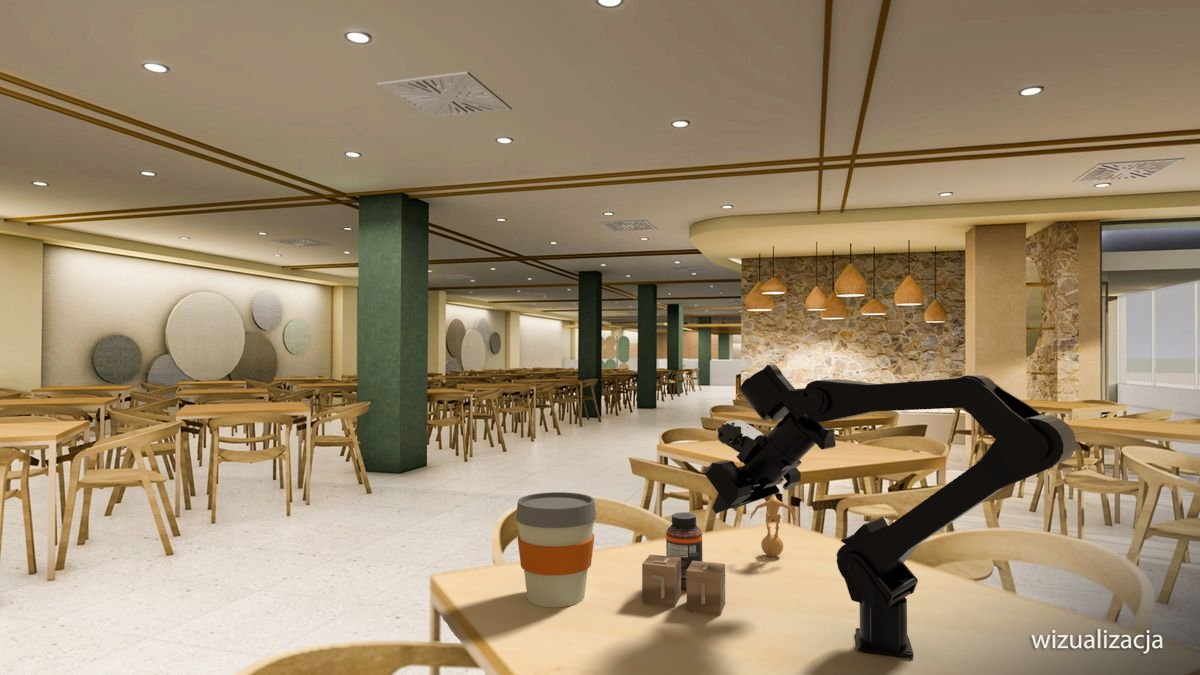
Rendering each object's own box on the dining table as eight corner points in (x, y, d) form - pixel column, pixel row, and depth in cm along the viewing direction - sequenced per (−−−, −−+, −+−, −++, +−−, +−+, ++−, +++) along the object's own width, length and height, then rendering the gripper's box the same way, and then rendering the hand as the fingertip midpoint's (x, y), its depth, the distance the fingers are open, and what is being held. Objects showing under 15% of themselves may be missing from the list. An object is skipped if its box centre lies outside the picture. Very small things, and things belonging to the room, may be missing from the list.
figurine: (793, 553, 126) (793, 490, 127) (798, 563, 120) (798, 497, 121) (748, 552, 128) (748, 489, 128) (751, 561, 122) (751, 495, 122)
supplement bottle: (679, 575, 114) (678, 508, 114) (709, 582, 110) (709, 514, 111) (659, 584, 110) (659, 515, 110) (690, 592, 106) (690, 521, 106)
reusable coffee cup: (606, 607, 100) (606, 506, 100) (522, 616, 96) (523, 511, 97) (584, 579, 112) (584, 489, 112) (509, 587, 108) (510, 494, 109)
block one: (720, 616, 96) (720, 573, 97) (686, 612, 98) (686, 569, 98) (725, 603, 101) (725, 562, 102) (692, 599, 103) (692, 559, 103)
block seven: (674, 608, 100) (674, 566, 100) (641, 604, 101) (641, 563, 101) (681, 596, 105) (681, 556, 105) (650, 592, 106) (650, 553, 106)
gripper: (782, 400, 108) (726, 461, 116) (715, 407, 95) (656, 475, 103) (829, 454, 102) (766, 514, 110) (764, 469, 89) (698, 536, 97)
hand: (722, 508), depth 105 cm, fingers open, 4 cm apart
